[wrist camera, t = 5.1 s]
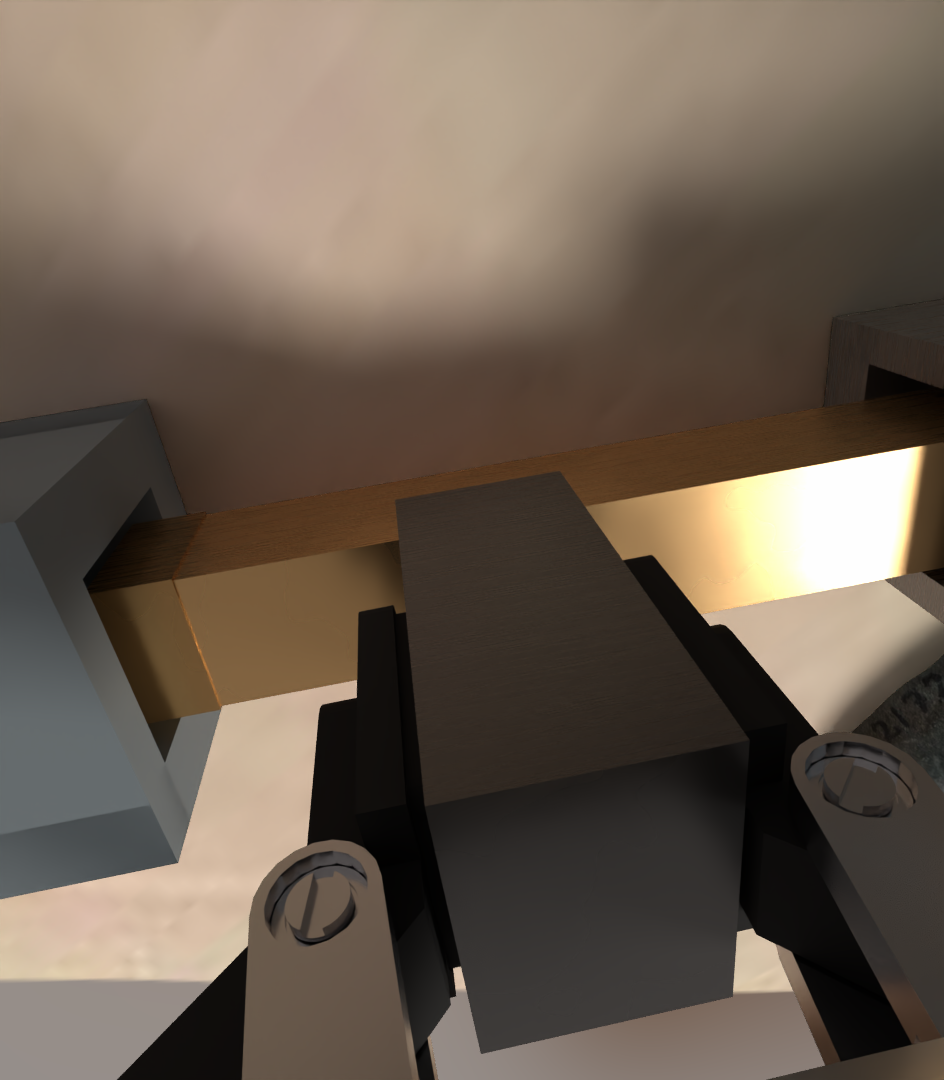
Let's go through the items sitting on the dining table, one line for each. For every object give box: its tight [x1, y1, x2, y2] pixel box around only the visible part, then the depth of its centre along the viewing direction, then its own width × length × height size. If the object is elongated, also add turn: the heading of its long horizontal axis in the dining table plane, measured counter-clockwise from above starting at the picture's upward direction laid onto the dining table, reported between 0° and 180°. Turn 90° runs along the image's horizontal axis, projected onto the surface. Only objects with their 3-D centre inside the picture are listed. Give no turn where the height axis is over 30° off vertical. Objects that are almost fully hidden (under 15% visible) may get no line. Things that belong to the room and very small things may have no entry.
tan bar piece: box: [87, 387, 944, 1054], centre depth 12 cm, size 4×22×10 cm, turn 97°
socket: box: [0, 399, 222, 899], centre depth 14 cm, size 7×6×6 cm
